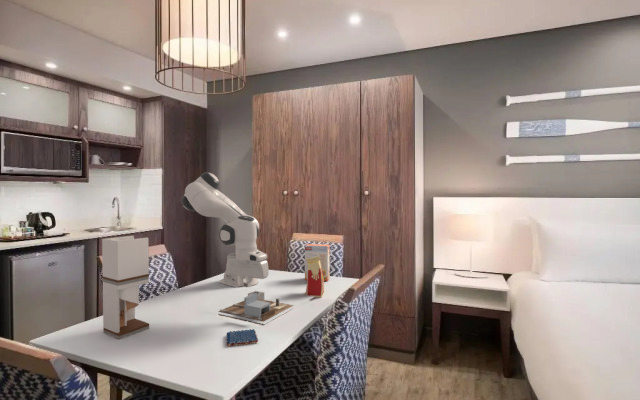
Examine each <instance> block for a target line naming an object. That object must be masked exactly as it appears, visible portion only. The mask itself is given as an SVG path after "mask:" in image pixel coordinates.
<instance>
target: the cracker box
mask: <svg viewBox="0 0 640 400" xmlns="http://www.w3.org/2000/svg"><path fill="white" fill-rule="evenodd" d="M317 256H320V258H319V259H320V264H321V268H322V273H323V280H324V282H328V281H330V278H331V277H330V268H331V267H330V244H319V243H314V244H313V243H307V244H305V245H304V281H307V278H308V263H307V260H306V259H308V258H314V257H317Z"/></svg>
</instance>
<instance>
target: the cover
mask: <svg viewBox="0 0 640 400" xmlns="http://www.w3.org/2000/svg"><path fill="white" fill-rule="evenodd" d="M243 298H244V300H243V301H244V314H245V315H250V316H254V317H259V318H261V312H265V313H266V312H268V311H270V303H268V302H263V301H258V300H257V293H254V294H252V295H249V296H248V295H247V296H244V297H243Z"/></svg>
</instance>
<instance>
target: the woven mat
mask: <svg viewBox="0 0 640 400" xmlns="http://www.w3.org/2000/svg"><path fill="white" fill-rule="evenodd" d="M258 341H259V340H258V337H257V332H256V330H255V329H254V328H253V329H245V330H244V329H241V330H233V331H232V330H230V331H228V332H226V347H231V346H232V347H235V346H236V347H237V346H241V345H242V346H244V345H246V346H247V345H251V344H252V345H254V344H256V345H257V344H258Z"/></svg>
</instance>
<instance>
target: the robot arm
mask: <svg viewBox="0 0 640 400" xmlns="http://www.w3.org/2000/svg"><path fill="white" fill-rule="evenodd" d="M219 187H220V180H219V178H218V177H217V176H216V175H215V174H213V173H211V172H208V171H205V172H203V173H202V174H200V176H199V177H197V179H196V180H194V181H193V182H191V183H188V184H187V186H186V187H185V189H184V194H182V196H181V197H180V203H181V205H182V207H183V208H185V209H186V210H188V211H190V212H197V213H198V214H199V215H201V216H204V217H207V218H208V217H209V218H219V219H222V220H223V222H225V224H223V225H222V226H221V228H220V229H219V239H220V241H221V243H222V244H224V245H225V246H235V253H233V252H230V253H228V255H227V256H226V258H227V261H226V264H225V265H226V266H225V271H224V274H223V278H222V279H220V280H219V281H218V282H219V283H220V284H222V285H226V286H230V287H233V288H237V287H244V288H251V286H255V285H257V284H258V283H259V280H264V279H266V278H268V277H269V273H270V271H269V263H268V261H267V259H268V254H267V253H265V252H264V251H261V250H259V249H258V245H257V239H258V237H259V233H260V231H259V230H260V223H259V221H258V220H257V219H256V218H255V217H254V216H251V215H248V214H247V213H245V211H243V210H242V209H241V208H240V207H239V206H238V205H237V204H236V203H235V202H234V201H233V200H232V199H230V198H229V197H228V196H227V195H225V194H224V193H223V192H221V191H220V190H219V189H220V188H219ZM258 279H259V280H258Z"/></svg>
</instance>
